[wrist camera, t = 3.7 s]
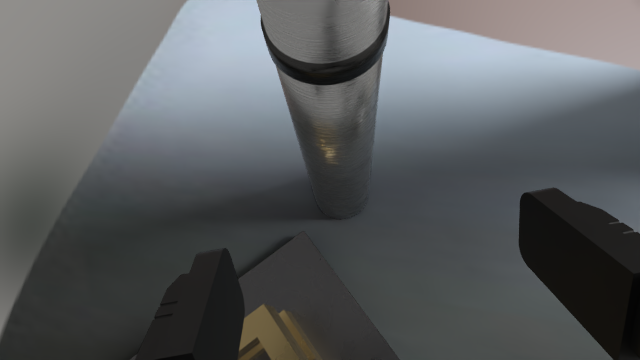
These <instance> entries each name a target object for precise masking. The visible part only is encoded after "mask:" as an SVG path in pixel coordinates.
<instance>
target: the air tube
mask: <svg viewBox="0 0 640 360" xmlns="http://www.w3.org/2000/svg"><path fill="white" fill-rule="evenodd" d="M257 3H258V7H259V10H260V14H261V27H262V31H263V34H264V38H265V41H266V44H267V47H268V51H269V54H270V56H271V58H272V60H273V62H274V63H275V64H276V68H277V71H278V74H279V78H280V81H281V85H282V88H283V91H284V95H285V98H286V102H287V105H288V108H289V112H290V115H291V118H292V122H293V125H294V129H295V132H296V135H297V139H298V142H299V146H300V149H301V152H302V156H303V159H304V162H305V166H306V169H307V173H308V176H309V179H310V183H311V186H312V190H313V193H314V196H315V200H316V203H317V205H318V207H319V208H320V210H321V211H322V212H323V213H325V214H326V215H328V216H330V217H332V218H336V219H347V218H350V217H353V216H355V215H357V214H358V213H359V212H360V211H361V210H362V209H363V208H364V206H365V204H366V202H367V199H368V191H369V181H370V172H371V162H372V152H373V143H374V133H375V123H376V114H377V104H378V94H379V85H380V75H381V65H382V56H383V51H384V49H385V46H386V42H387V36H388V27H389V19H390V6H389V2H388V0H257Z"/></svg>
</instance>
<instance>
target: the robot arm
mask: <svg viewBox="0 0 640 360" xmlns="http://www.w3.org/2000/svg"><path fill="white" fill-rule="evenodd" d="M519 248H520V252H521V255H522V258H523V260H524V261H525V263H526V264H527V266H528V267H529V268H530V269H531V270H532V271H533V272H534V273H535V275H536V276H537V277H538V278H539V279H540V280H541V281H542V282H543V283H544V284H545V285H546V286H547V288H548V289H549V290H550V291H551V292H552V293H553V294H554V295H555V296H556V297H557V298H558V300H559V301H560V302H561V303H562V304H563V305H564V306H565V307H566V308H567V309H568V310H569V312H570V313H571V314H572V315H573V316H574V317H575V318H576V319H577V320H578V321H579V322H580V324H581V325H582V326H583V327H584V328H585V329H586V330H587V331H588V332H589V333H590V334H591V336H592V337H593V338H594V339H595V340H596V341H597V342H598V343H599V344H600V345H601V346H602V348H603V349H604V350H605V351H606V352H607V353H608V354H609V355H610V356H611V357H612V358H613V360H640V234H639V233H638V232H634V231H633V229H632V228H630V227H629V226H627V225H625V224H624V223H620V222H619V220H618V219H616V218H615V217H613V216H611V215H610V214H608V213H607V212H605V211H604V210H602V209H599V208H596V207H594V206H591V205H588V204H585V203H582V202H576V201H575V200H573V199H572V198H570V197H569V196H567V195H566V194H564V193H563V192H561V191H560V190H559V189H557V188H548V189H542V190H537V191H532V192H526V193H524V194H523V195H522V196H521V199H520V219H519ZM244 316H245V305H244V298H243V293H242V290H241V287H240V284H239V281H238V278H237V275H236V271H235V268H234V265H233V262H232V259H231V256H230V253H229V251H228V250H227V249H226V248H222V249H217V250H211V251H206V252H200V253H198V254H197V255H196V257H195V260H194V262H193V265H192V267H191V270H190V272H189V273H188V274H183V275H180V276H179V277H178V278H177V279H176V280H175V281H174V282H173V283H172V285H171V286H170V287H169V288H168V289H167V290H166V293H165V295H164V297H163V299H162V301H161V304H160V307H159V308H158V310H157V312H156V314H155V320H153V321H152V323H151V325H150V328H149V330H148V332H147V334H146V336H145V339H144V341H143V343H142V345H141V347H140V349H139V352H138V354H137V356H136V358H135V360H238V354H239V347H240V341H241V335H242V329H243V323H244Z"/></svg>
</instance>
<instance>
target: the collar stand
mask: <svg viewBox="0 0 640 360" xmlns="http://www.w3.org/2000/svg"><path fill="white" fill-rule="evenodd" d="M238 281H239V284H240V287H241V290H242V293H243V298H244V305H245V316H244V323H243V329H242V335H241V341H240V347H239V354H238V360H400V359H399V358H398V357H397V355H396V354H395V353H394V351H393V350H392V349H391V347H390V346H389V345H388V343H387V342H386V341H385V339H384V338H383V337H382V335H381V334H380V333H379V331H378V330H377V328H376V327H375V326H374V324H373V323H372V322H371V320H370V319H369V318H368V316H367V315H366V314H365V312H364V311H363V310H362V308H361V307H360V306H359V304H358V303H357V302H356V300H355V299H354V298H353V296H352V295H351V294H350V292H349V291H348V290H347V288H346V287H345V286H344V284H343V283H342V281H341V280H340V279H339V277H338V276H337V275H336V273H335V272H334V271H333V269H332V268H331V267H330V265H329V264H328V263H327V261H326V260H325V259H324V257H323V256H322V255H321V253H320V252H319V251H318V249H317V248H316V247H315V245H314V244H313V243H312V241H311V240H310V239H309V237H308V236H307V234H306V233H305V232H304V231H303V232H301V233H300V234H299V235H297V236H296V237H294V238H293V239H292V240H290V241H289V242H288V243H286V244H285V245H284V246H282V247H281V248H280V249H278V250H277V251H276V252H274V253H273V254H271V255H270V256H269V257H267V258H266V259H265V260H263V261H262V262H261V263H259V264H258V265H257V266H255V267H254V268H253V269H251V270H250V271H249V272H247V273H246V274H244V275H243V276H242V277H240V278H239V279H238ZM136 356H137V354H136V355H135V356H134V357H132V358H131V359H130V360H135V358H136Z"/></svg>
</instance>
